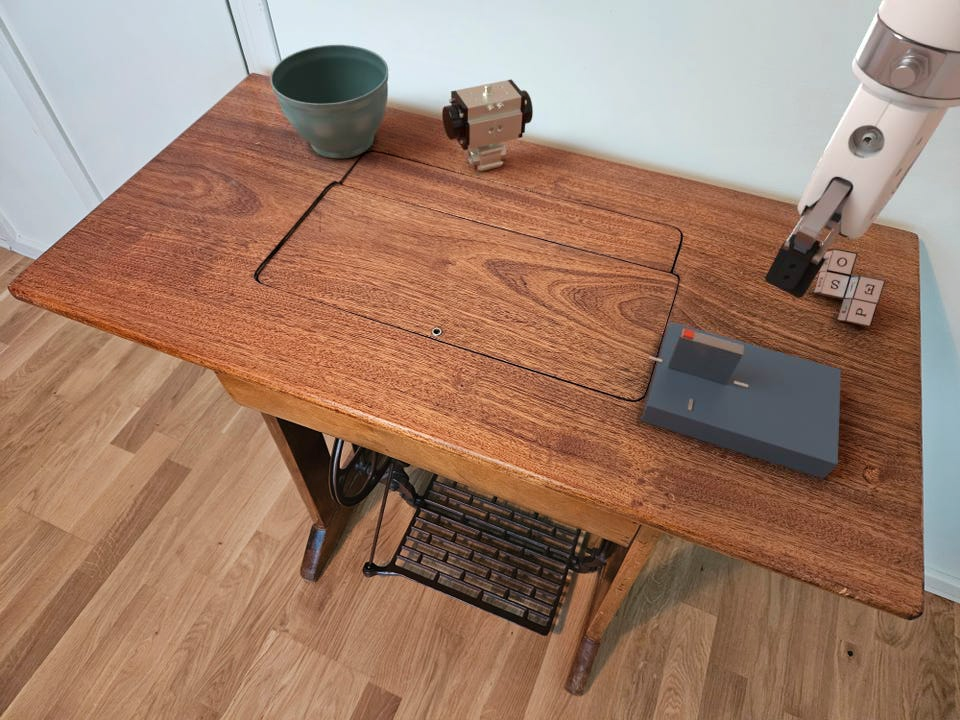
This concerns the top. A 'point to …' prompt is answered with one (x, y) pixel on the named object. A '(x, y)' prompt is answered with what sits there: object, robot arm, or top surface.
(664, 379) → the blue-grey rectangular block
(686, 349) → the lever
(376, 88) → the flower pot
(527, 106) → the pneumatic valve
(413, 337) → the top surface
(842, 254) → the building blocks
